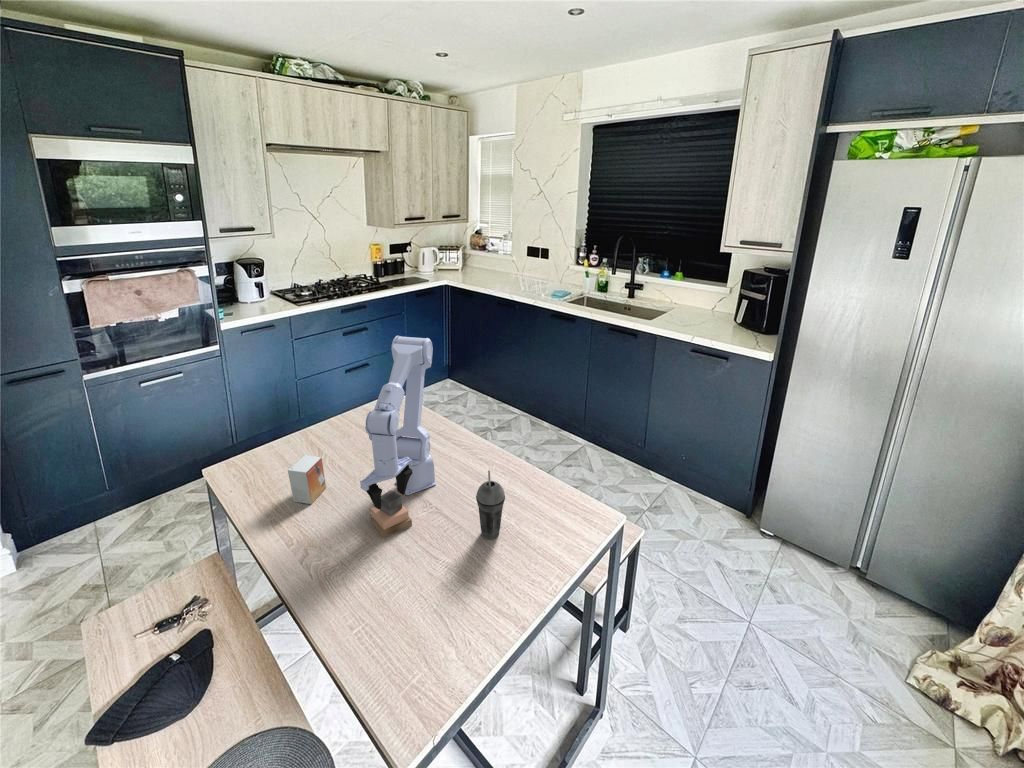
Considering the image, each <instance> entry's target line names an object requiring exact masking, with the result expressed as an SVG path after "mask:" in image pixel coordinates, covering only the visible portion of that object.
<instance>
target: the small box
mask: <svg viewBox="0 0 1024 768" xmlns="http://www.w3.org/2000/svg"><path fill="white" fill-rule="evenodd" d="M323 464H324V463H323V458H322V457H321V456H314V455H306V454H304V455H303V456H302V457H301V458H300V459H299V460H298V461H297V462H295V463H294V464H293V465H292V466H291V467H290V468H289V469H287V472H288V473H287V475H288V479H289V484H290V488H291V489H290V490H291V496H292V500H293V502H295V503H301V504H302V503H303V504H308V505H312V504H313V503H314V502H315V501H316V500H317V498H318V497H320V495H321V494H322V493H323V492H324V491H325V490H326V489H327V484H326V483H327V482H326V478H325V476H326V475H325V472H324V471H325V470H324V465H323Z"/></svg>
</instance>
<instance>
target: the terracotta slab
mask: <svg viewBox="0 0 1024 768" xmlns="http://www.w3.org/2000/svg"><path fill="white" fill-rule="evenodd" d="M370 514H371V515H372V517H373V518H374V519H375V520H376V522H377V523H378V524H379V525H380V526H381V527H382V528H383V530H385V529H388V528H390V527H392V526H394V525H396V524H398V523H401V522H403V521H405V520H407V519H409V517H410V516H409V510H408V509H407V508H406V507H405V506H404V505H403V504H402V509H401V510H399V511H398V512H396V513H395V514H393V515H392V516H389V515H387V514H386V513H384V512H382V511H381V510H380V509H377V508H376V507H374V506H372V507H370Z"/></svg>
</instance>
